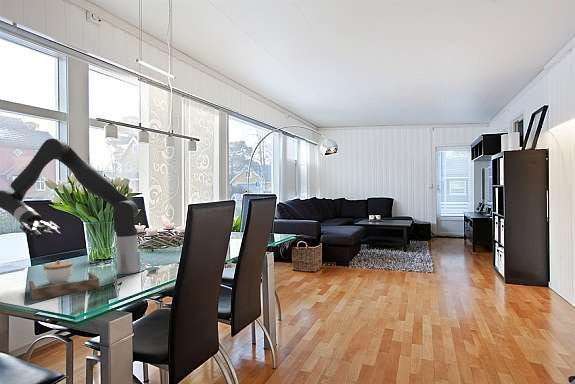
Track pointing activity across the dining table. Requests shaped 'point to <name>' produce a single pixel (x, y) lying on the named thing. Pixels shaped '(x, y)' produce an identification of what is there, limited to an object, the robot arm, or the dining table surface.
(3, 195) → the robot arm
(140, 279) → the dining table surface
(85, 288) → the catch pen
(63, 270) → the lidded jar
